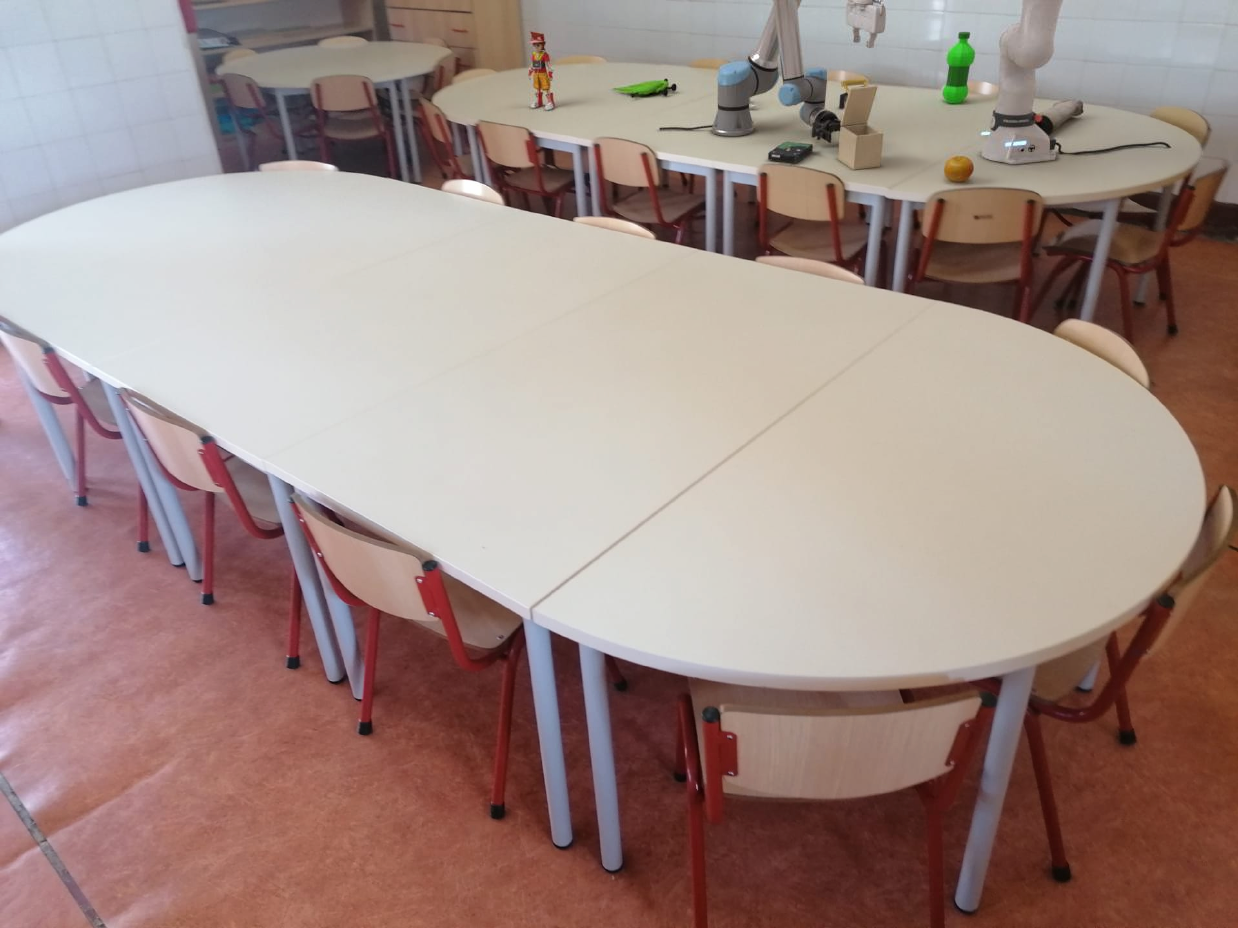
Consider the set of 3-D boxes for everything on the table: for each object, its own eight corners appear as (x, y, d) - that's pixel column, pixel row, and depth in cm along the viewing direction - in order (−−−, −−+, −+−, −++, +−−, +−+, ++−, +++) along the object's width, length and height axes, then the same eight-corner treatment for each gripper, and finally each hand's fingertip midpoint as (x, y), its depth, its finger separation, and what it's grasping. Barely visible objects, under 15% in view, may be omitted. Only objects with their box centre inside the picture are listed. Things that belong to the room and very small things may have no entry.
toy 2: (686, 85, 398) (631, 84, 414) (685, 72, 395) (629, 72, 411) (651, 104, 381) (596, 103, 397) (650, 92, 378) (594, 91, 394)
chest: (879, 166, 293) (883, 133, 287) (853, 169, 291) (856, 136, 285) (863, 156, 303) (866, 124, 297) (837, 159, 302) (840, 127, 296)
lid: (877, 86, 286) (868, 71, 290) (850, 89, 284) (841, 74, 289) (867, 123, 297) (858, 108, 301) (841, 126, 295) (832, 110, 300)
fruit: (938, 171, 273) (955, 148, 270) (938, 174, 281) (955, 151, 278) (961, 187, 272) (979, 164, 269) (961, 189, 280) (978, 166, 277)
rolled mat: (1050, 105, 332) (1075, 87, 323) (1064, 125, 332) (1089, 108, 324) (1018, 127, 314) (1043, 109, 306) (1032, 149, 315) (1057, 131, 306)
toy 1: (525, 109, 381) (517, 32, 364) (534, 104, 388) (527, 28, 371) (550, 110, 377) (543, 32, 360) (559, 105, 384) (553, 28, 367)
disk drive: (796, 164, 299) (812, 151, 309) (796, 156, 298) (813, 143, 308) (767, 161, 304) (784, 148, 314) (767, 152, 302) (785, 140, 312)
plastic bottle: (973, 101, 354) (984, 32, 339) (955, 106, 349) (966, 36, 335) (952, 97, 361) (962, 29, 346) (934, 102, 356) (944, 33, 342)
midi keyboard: (841, 108, 355) (842, 95, 352) (838, 108, 356) (840, 94, 353) (863, 99, 366) (865, 86, 363) (860, 98, 366) (862, 86, 364)
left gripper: (856, 128, 321) (882, 143, 304) (790, 136, 317) (813, 152, 300) (858, 106, 317) (885, 120, 300) (791, 114, 313) (815, 128, 296)
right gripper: (893, -1, 265) (887, 50, 273) (862, -9, 282) (858, 39, 289) (873, 1, 264) (868, 52, 272) (843, -8, 281) (839, 40, 288)
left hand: (849, 136), depth 300 cm, fingers open, 13 cm apart
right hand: (863, 45), depth 281 cm, fingers open, 8 cm apart
